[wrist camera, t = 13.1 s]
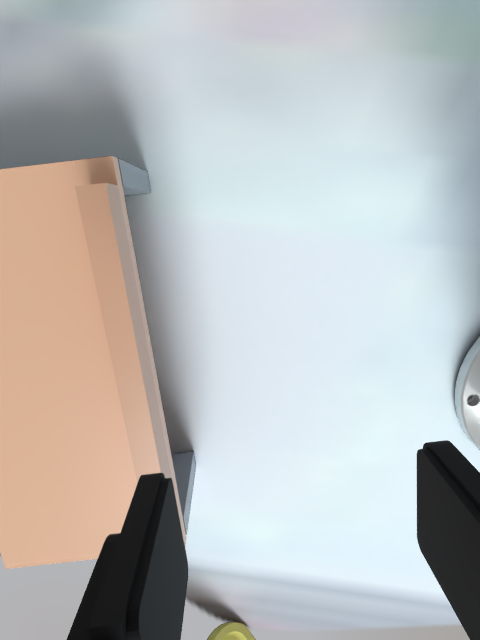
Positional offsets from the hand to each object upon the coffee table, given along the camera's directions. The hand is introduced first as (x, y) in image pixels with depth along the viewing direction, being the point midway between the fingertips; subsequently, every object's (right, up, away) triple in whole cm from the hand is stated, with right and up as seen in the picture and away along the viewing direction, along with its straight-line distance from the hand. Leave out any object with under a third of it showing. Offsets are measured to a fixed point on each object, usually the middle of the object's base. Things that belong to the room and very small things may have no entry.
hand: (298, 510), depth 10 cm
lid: (-11, +2, +11) cm, 15 cm away
